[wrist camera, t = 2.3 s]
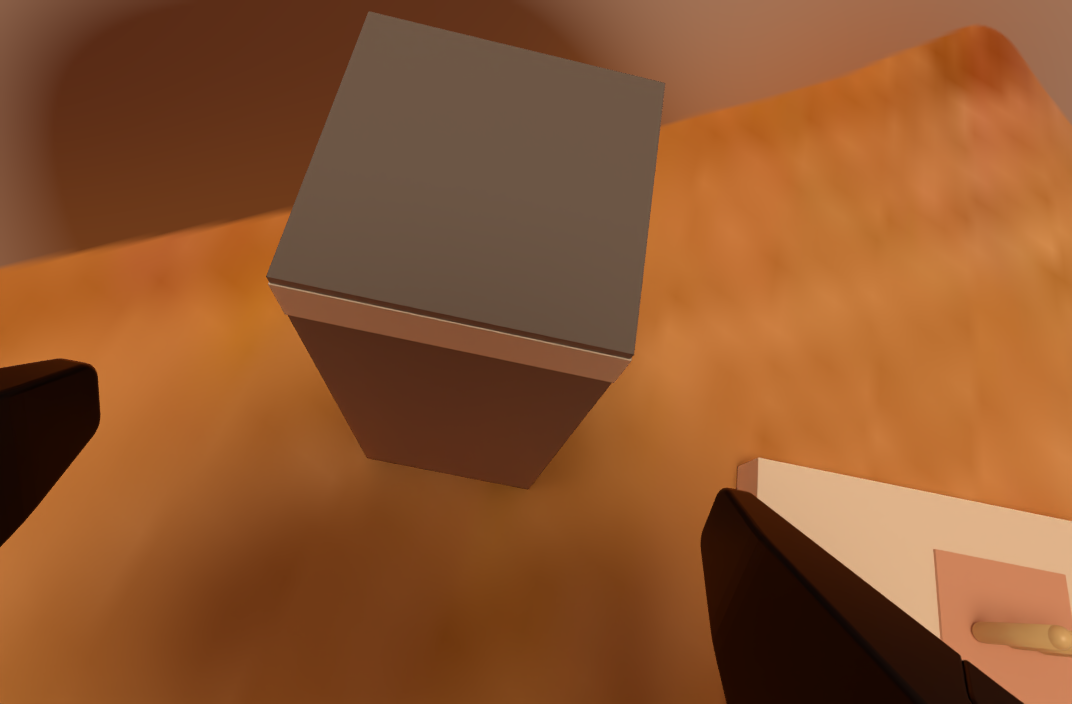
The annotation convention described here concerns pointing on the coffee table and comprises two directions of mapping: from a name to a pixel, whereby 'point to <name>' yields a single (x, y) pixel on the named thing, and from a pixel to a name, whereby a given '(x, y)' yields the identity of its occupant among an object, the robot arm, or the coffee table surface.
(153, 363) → the coffee table surface
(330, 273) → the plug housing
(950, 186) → the coffee table surface
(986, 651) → the board
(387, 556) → the coffee table surface
